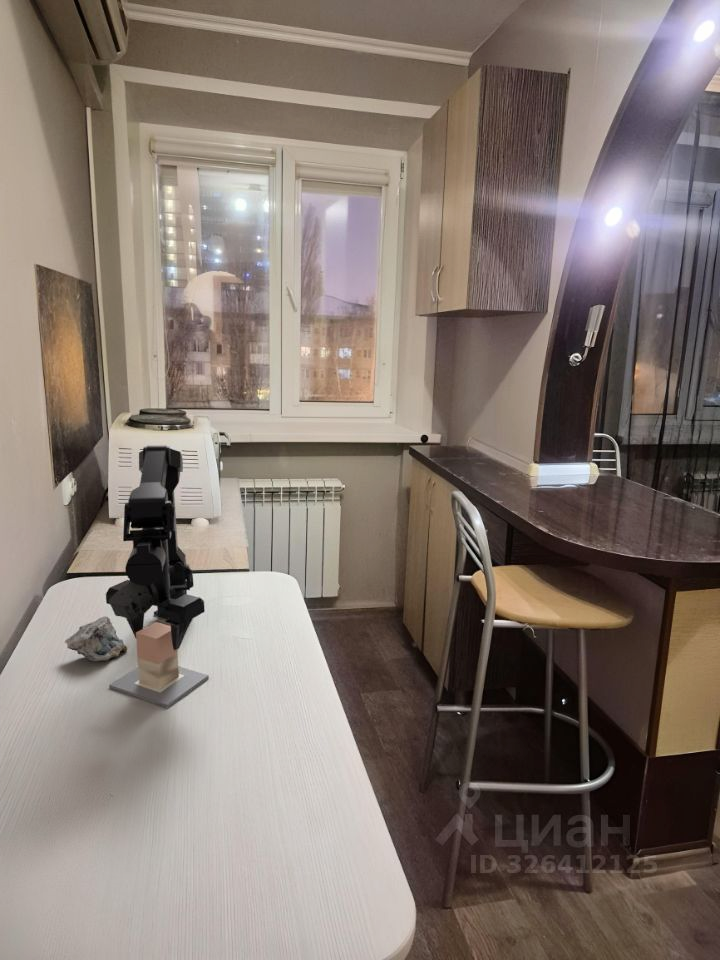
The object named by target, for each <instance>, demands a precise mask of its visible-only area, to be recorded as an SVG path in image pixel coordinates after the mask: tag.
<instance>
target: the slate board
mask: <svg viewBox="0 0 720 960" xmlns="http://www.w3.org/2000/svg"><path fill="white" fill-rule="evenodd" d="M178 669H179V677H177V678H176V679H174V680H173V681H171V682H170V683H168V684H167V685H165V686H164V687H162V688H161V689H157V688H155V687H152V686H149V685H146V684H143V683H140V682H139V671H138V666H137V667H135V668H134V669H132V670H131V671H129V672H128V673H126V674H124V675H122V676H121V677H119V678H118V679H116V680H115V681H113V682H111V683H109V684H108V687H109V689H112V690H115V691H118V692H120V693H124V694H127V695H130V696H133V697H135V698H139V699H141V700H144V701H147V702H149V703H152V704H155V705H158V706H161V707H164V708H166V709H168V708H170V707H171V706H172V705H174V704H175V703H176V702H178V701H179V700H181V698H184V697H185V696H186V695H187V694H189V693H190V692H192V691H193V690H194V689H195V688H197V687H198V686H200V685H201V684H202V683H204V682H205V681H207V680H208V679H209V674H205V673H202V672H199V671H195V670H192V669H188V668H185V667H182V666H180V665H178Z"/></svg>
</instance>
